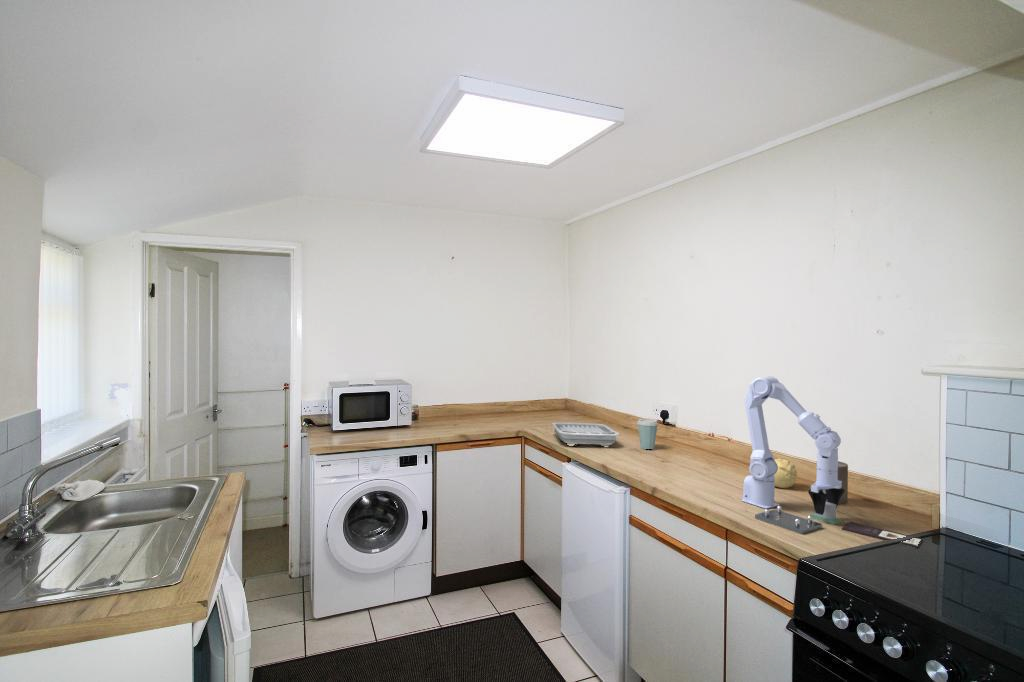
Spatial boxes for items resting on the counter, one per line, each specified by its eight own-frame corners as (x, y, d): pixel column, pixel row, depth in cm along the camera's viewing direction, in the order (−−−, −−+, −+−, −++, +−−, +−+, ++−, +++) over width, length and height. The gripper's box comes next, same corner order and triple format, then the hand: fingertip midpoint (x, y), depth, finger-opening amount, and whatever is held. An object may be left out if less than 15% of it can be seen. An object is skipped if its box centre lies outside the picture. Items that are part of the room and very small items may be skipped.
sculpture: (793, 492, 197) (794, 463, 197) (759, 486, 204) (760, 458, 204) (798, 485, 206) (799, 458, 206) (765, 480, 213) (766, 453, 213)
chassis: (755, 518, 166) (755, 508, 166) (775, 512, 172) (775, 503, 172) (801, 534, 154) (802, 523, 154) (822, 527, 159) (822, 517, 159)
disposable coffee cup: (654, 452, 259) (655, 422, 258) (633, 449, 264) (634, 419, 264) (659, 448, 268) (660, 419, 268) (639, 445, 273) (640, 417, 273)
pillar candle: (842, 498, 191) (843, 457, 191) (851, 506, 181) (852, 463, 181) (812, 495, 193) (813, 455, 193) (819, 503, 184) (820, 461, 184)
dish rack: (604, 436, 299) (604, 422, 299) (622, 450, 263) (622, 434, 262) (549, 435, 297) (550, 421, 297) (559, 449, 261) (560, 433, 260)
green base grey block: (810, 517, 169) (810, 500, 169) (817, 515, 171) (817, 498, 171) (833, 525, 163) (834, 507, 163) (840, 522, 165) (841, 505, 165)
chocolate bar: (849, 521, 165) (921, 538, 152) (849, 524, 165) (921, 541, 152) (841, 528, 158) (916, 546, 145) (841, 531, 158) (916, 549, 145)
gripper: (827, 475, 159) (826, 519, 159) (852, 469, 167) (850, 512, 167) (804, 469, 165) (803, 512, 166) (829, 464, 173) (828, 505, 173)
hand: (825, 511), depth 167 cm, fingers open, 7 cm apart
